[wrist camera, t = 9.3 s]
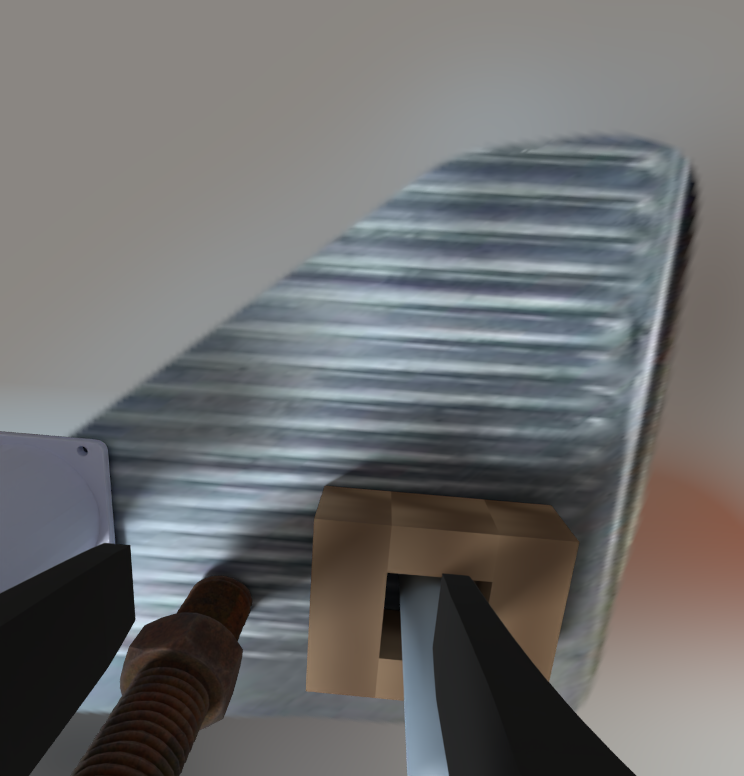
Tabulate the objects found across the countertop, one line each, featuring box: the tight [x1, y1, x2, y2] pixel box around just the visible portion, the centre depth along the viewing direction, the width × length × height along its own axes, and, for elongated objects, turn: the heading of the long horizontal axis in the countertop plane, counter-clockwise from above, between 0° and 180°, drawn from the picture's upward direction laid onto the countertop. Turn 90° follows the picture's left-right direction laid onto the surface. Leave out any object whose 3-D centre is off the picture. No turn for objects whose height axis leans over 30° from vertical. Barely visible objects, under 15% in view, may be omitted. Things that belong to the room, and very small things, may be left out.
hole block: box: [306, 486, 579, 701], centre depth 20 cm, size 11×9×3 cm
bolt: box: [71, 575, 252, 776], centre depth 15 cm, size 6×5×15 cm
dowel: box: [399, 574, 449, 776], centre depth 16 cm, size 3×3×10 cm
